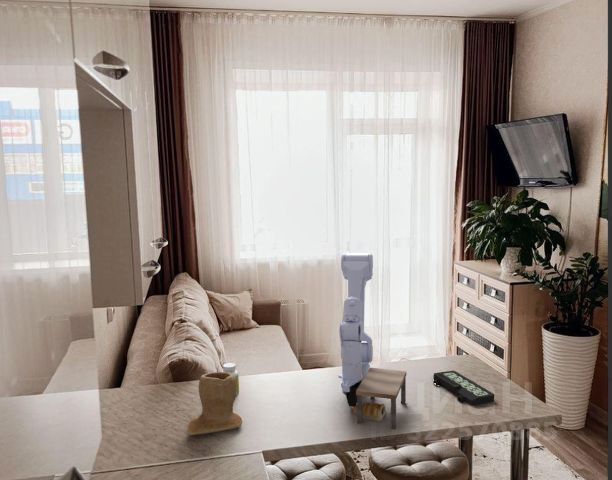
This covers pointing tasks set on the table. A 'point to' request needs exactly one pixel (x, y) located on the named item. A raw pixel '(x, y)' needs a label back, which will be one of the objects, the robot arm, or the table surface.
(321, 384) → the table surface
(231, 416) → the stone cup
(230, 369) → the supplement bottle
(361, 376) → the robot arm
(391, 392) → the wooden table
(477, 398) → the digital display
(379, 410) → the pastry
